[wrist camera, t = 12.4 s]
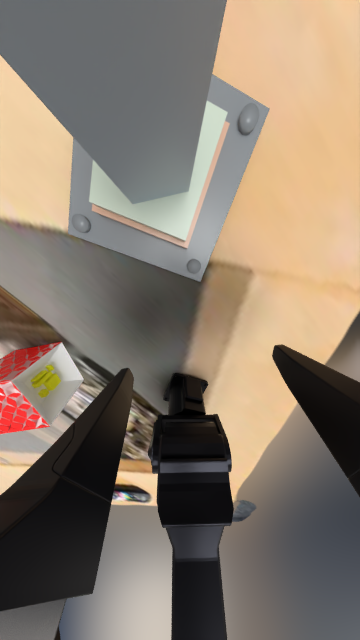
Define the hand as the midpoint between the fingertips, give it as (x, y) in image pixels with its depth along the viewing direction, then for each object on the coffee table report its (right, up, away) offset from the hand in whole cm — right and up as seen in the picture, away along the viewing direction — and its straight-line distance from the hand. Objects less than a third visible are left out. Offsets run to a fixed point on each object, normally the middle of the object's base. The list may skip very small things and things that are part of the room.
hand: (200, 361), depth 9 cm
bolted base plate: (-4, +17, +6) cm, 19 cm away
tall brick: (-3, +15, +3) cm, 16 cm away
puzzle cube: (-23, -5, +16) cm, 28 cm away
